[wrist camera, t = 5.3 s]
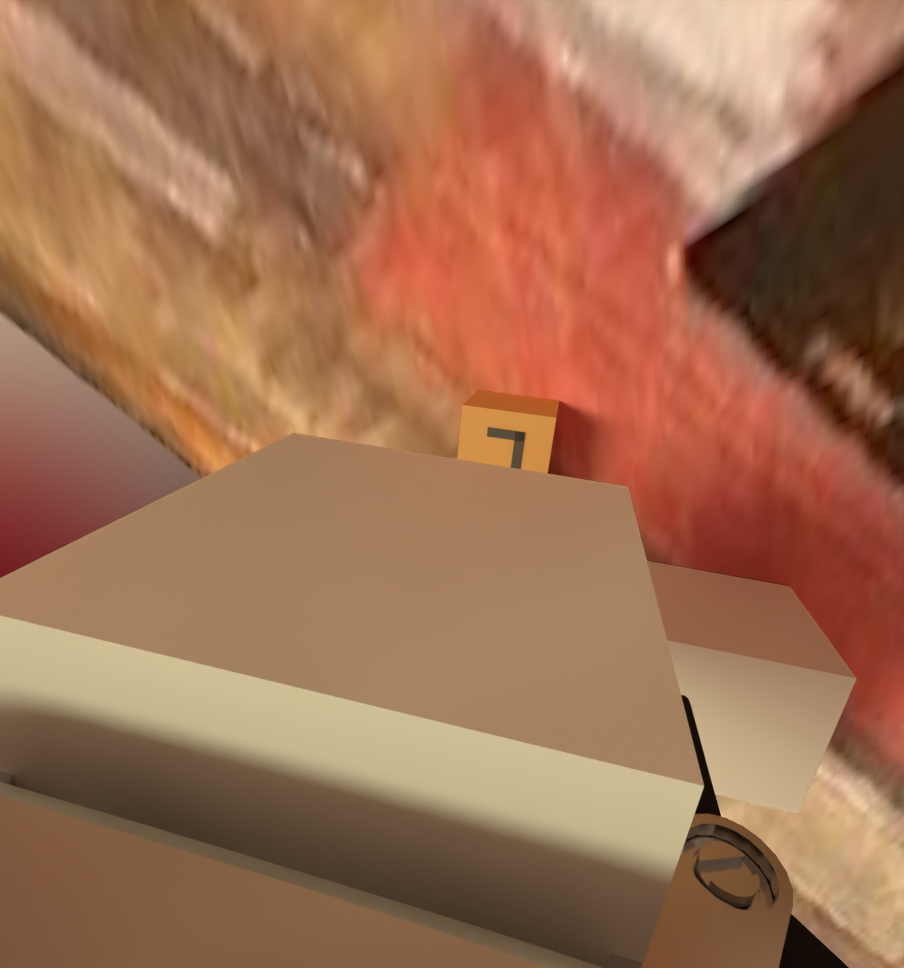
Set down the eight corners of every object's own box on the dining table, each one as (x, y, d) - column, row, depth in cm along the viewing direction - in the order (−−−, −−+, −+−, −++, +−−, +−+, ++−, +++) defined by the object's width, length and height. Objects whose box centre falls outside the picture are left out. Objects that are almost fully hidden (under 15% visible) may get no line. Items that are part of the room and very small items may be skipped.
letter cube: (559, 400, 27) (556, 418, 23) (546, 479, 28) (541, 508, 24) (478, 389, 27) (462, 405, 24) (470, 467, 29) (453, 493, 25)
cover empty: (790, 586, 27) (856, 678, 21) (749, 700, 29) (797, 814, 23) (643, 559, 28) (662, 639, 22) (616, 671, 31) (626, 772, 24)
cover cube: (628, 486, 11) (704, 786, 4) (566, 760, 13) (555, 1218, 7) (293, 432, 12) (-51, 603, 5) (294, 694, 14) (59, 1027, 8)
